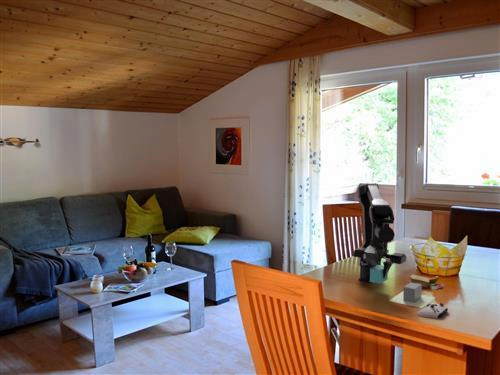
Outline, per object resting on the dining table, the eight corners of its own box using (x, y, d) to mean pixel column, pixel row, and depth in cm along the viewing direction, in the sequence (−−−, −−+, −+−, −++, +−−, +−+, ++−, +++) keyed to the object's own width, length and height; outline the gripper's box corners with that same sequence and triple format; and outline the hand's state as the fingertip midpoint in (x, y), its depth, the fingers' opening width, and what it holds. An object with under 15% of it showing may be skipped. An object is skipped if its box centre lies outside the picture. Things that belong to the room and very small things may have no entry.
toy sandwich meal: (443, 295, 179) (443, 283, 178) (406, 290, 185) (406, 278, 184) (445, 286, 190) (446, 274, 189) (410, 282, 196) (410, 270, 195)
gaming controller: (425, 305, 165) (441, 294, 161) (438, 320, 162) (454, 310, 159) (413, 314, 156) (429, 303, 153) (426, 331, 154) (443, 320, 150)
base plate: (388, 303, 170) (388, 300, 169) (403, 293, 180) (403, 290, 180) (422, 310, 162) (422, 308, 162) (435, 300, 173) (435, 297, 173)
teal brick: (369, 281, 177) (370, 268, 177) (377, 277, 183) (377, 264, 182) (379, 283, 175) (380, 270, 174) (387, 279, 180) (387, 266, 180)
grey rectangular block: (403, 300, 170) (403, 286, 169) (410, 295, 175) (410, 282, 174) (414, 302, 167) (414, 289, 167) (421, 297, 172) (421, 284, 172)
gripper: (347, 237, 177) (346, 278, 178) (395, 244, 165) (394, 287, 166) (360, 232, 185) (359, 271, 187) (407, 238, 173) (406, 280, 175)
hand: (378, 277), depth 178 cm, fingers closed on teal brick, 4 cm apart
